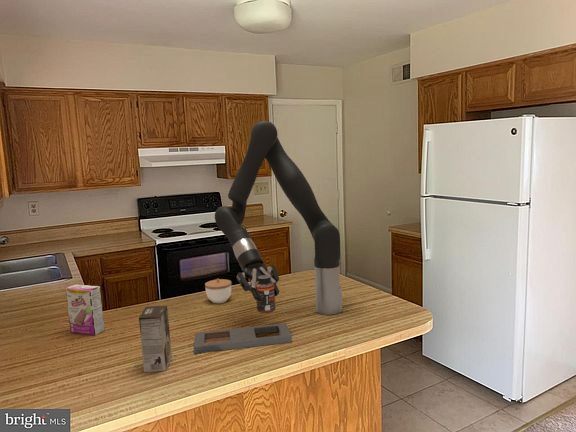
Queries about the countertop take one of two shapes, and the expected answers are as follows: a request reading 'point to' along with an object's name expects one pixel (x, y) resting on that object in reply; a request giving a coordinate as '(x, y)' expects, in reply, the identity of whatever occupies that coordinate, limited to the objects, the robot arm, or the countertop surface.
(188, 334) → the countertop surface
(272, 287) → the supplement bottle
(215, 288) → the lidded jar
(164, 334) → the coffee box
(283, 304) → the countertop surface
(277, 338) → the plate with square holes
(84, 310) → the candy bar box
